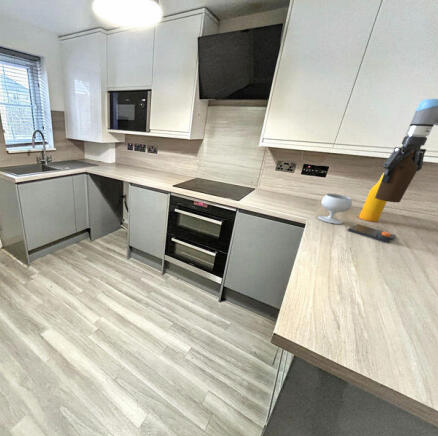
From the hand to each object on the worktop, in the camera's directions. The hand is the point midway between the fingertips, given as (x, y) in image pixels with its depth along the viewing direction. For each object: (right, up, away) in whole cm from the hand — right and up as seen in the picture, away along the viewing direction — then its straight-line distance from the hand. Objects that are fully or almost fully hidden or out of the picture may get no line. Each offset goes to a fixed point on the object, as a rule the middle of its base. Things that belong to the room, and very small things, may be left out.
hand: (394, 182), depth 117 cm
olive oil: (-1, -8, +3) cm, 9 cm away
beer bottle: (+15, -18, +31) cm, 39 cm away
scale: (-5, -26, +8) cm, 28 cm away
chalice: (-14, -19, +24) cm, 34 cm away
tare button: (-5, -26, 0) cm, 27 cm away
